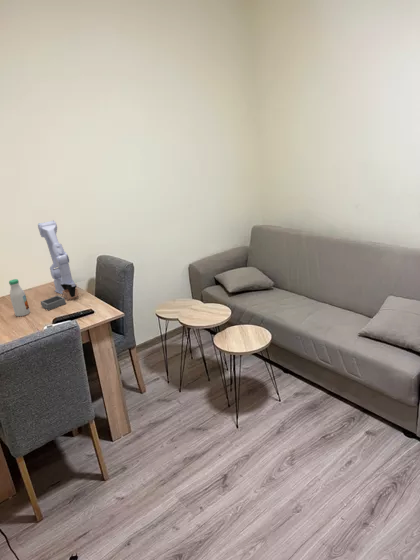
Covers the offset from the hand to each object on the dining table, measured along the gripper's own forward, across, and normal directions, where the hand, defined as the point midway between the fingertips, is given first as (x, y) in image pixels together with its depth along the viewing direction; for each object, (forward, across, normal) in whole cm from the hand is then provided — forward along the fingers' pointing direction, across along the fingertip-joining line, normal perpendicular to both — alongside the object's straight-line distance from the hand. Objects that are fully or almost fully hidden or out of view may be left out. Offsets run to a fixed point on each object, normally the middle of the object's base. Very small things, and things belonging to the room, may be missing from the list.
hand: (70, 295), depth 239 cm
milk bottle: (+2, -3, -28) cm, 28 cm away
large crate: (+1, +2, -12) cm, 12 cm away
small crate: (+1, 0, 0) cm, 1 cm away
